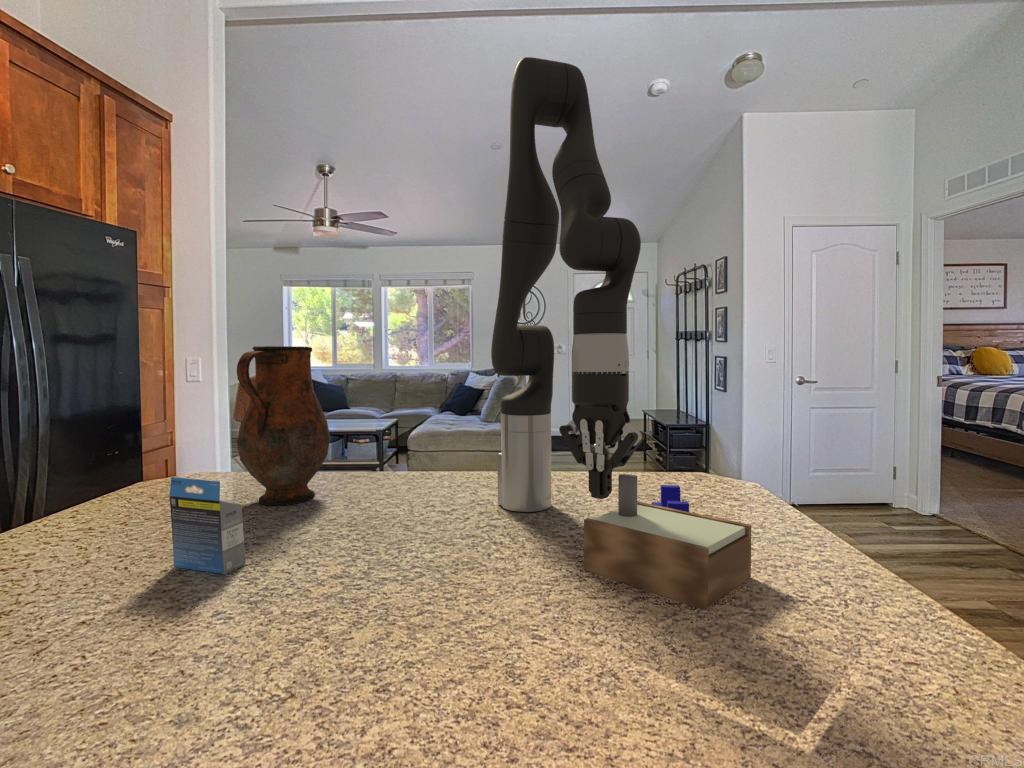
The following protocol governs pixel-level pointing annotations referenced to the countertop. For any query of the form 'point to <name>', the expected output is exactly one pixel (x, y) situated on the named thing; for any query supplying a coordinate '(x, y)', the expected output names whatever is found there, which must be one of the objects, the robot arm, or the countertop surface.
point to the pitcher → (282, 423)
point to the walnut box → (667, 561)
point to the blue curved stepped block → (672, 498)
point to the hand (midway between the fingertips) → (600, 497)
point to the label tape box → (205, 527)
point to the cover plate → (667, 520)
